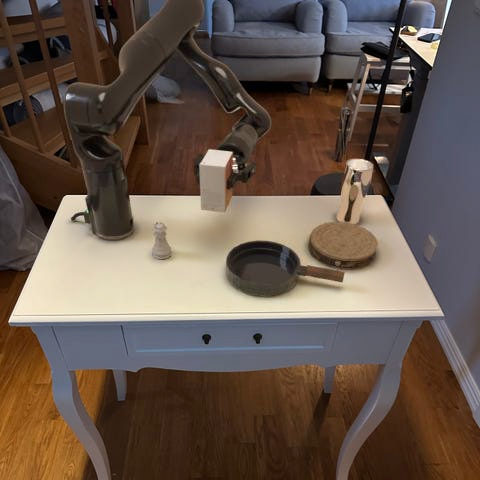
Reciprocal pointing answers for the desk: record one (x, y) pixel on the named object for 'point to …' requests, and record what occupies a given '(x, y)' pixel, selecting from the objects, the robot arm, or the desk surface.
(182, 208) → the desk surface
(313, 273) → the pan handle
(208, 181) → the small box
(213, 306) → the desk surface
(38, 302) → the desk surface
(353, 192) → the silver metal cup
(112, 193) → the robot arm
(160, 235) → the rook chess piece
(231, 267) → the pan
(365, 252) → the wood slice
